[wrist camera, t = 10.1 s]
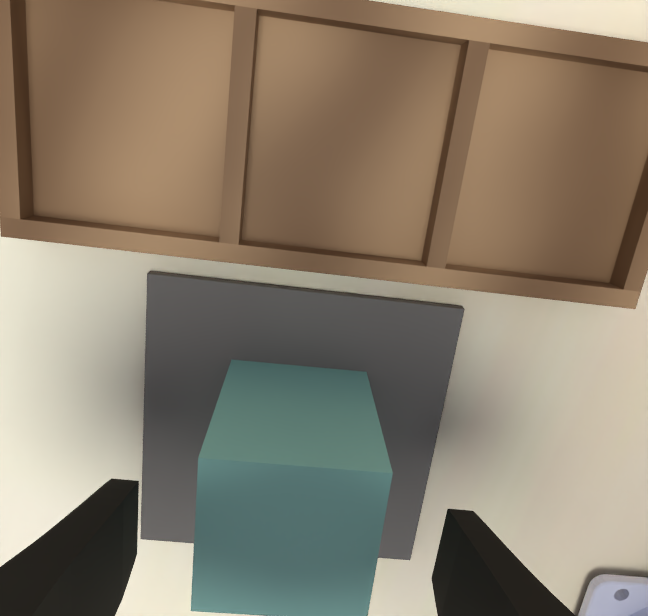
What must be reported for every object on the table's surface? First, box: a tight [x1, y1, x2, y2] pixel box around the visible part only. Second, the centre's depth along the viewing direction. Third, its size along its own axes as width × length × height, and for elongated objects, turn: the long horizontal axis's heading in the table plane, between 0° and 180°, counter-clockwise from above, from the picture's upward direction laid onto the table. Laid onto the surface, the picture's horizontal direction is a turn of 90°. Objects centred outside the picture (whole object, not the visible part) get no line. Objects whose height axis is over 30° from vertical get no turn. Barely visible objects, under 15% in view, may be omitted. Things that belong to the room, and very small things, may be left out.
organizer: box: [0, 0, 648, 309], centre depth 14 cm, size 17×6×1 cm, turn 83°
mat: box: [141, 271, 464, 560], centre depth 16 cm, size 9×9×1 cm
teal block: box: [191, 360, 393, 616], centre depth 14 cm, size 4×4×5 cm
